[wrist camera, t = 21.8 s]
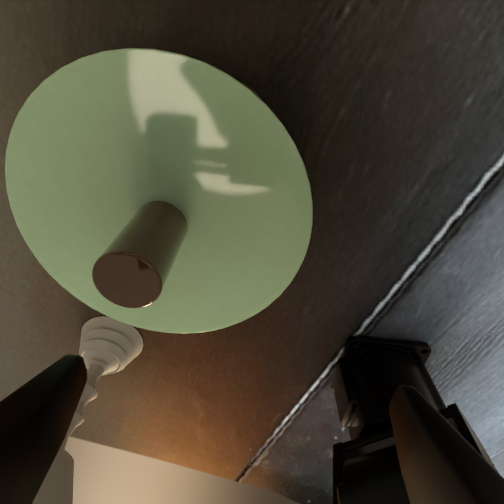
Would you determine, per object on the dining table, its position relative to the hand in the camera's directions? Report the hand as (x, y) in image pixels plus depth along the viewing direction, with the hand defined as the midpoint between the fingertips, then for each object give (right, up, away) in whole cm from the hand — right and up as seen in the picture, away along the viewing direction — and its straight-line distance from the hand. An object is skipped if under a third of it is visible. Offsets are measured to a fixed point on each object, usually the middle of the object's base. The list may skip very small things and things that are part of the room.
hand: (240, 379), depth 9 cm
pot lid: (-4, +5, +6) cm, 9 cm away
